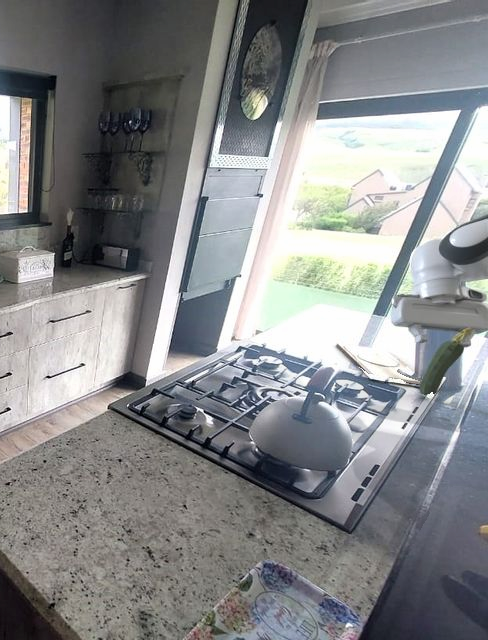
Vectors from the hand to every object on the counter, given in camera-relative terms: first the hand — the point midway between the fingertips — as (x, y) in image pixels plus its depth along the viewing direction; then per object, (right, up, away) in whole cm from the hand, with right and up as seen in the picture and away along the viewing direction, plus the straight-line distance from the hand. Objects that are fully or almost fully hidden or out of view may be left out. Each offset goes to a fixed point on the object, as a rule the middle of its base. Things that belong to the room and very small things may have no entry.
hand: (442, 344), depth 104 cm
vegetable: (-1, -14, +4) cm, 15 cm away
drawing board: (+3, -5, +21) cm, 21 cm away
